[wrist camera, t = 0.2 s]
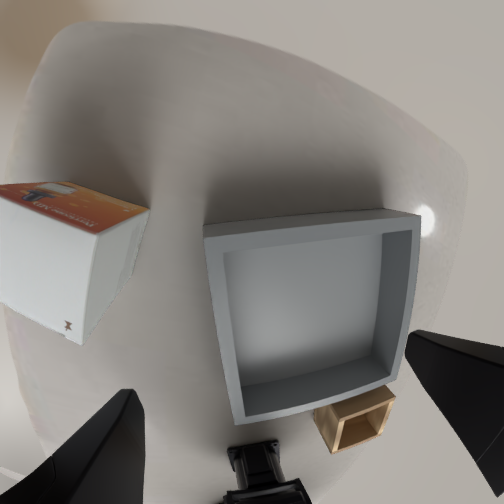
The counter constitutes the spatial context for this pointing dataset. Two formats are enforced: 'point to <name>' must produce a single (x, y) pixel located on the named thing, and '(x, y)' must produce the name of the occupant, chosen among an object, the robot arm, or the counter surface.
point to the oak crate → (354, 419)
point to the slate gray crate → (311, 306)
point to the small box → (65, 253)
